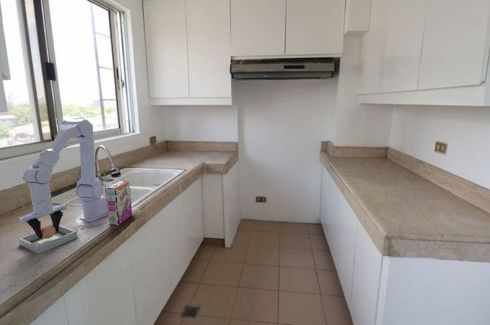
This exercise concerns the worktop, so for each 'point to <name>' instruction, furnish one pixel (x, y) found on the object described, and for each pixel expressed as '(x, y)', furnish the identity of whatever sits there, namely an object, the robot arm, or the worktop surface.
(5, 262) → the worktop surface
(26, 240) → the grey shallow square tray
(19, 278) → the worktop surface
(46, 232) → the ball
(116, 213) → the candy bar box
